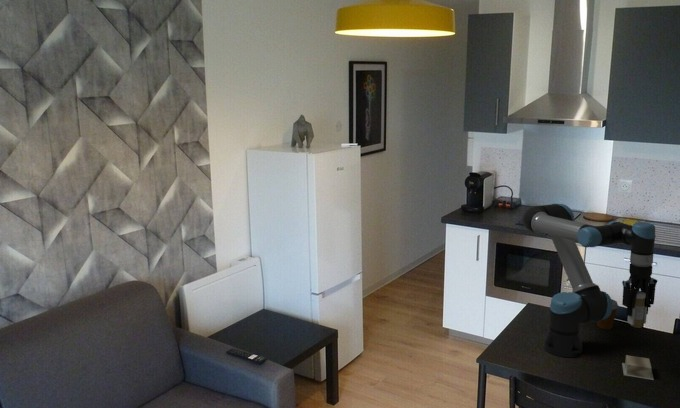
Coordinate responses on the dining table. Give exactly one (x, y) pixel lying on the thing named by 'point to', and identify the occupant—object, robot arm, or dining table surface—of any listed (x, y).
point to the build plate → (633, 375)
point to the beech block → (638, 366)
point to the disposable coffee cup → (608, 321)
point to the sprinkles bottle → (639, 309)
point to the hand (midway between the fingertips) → (636, 322)
